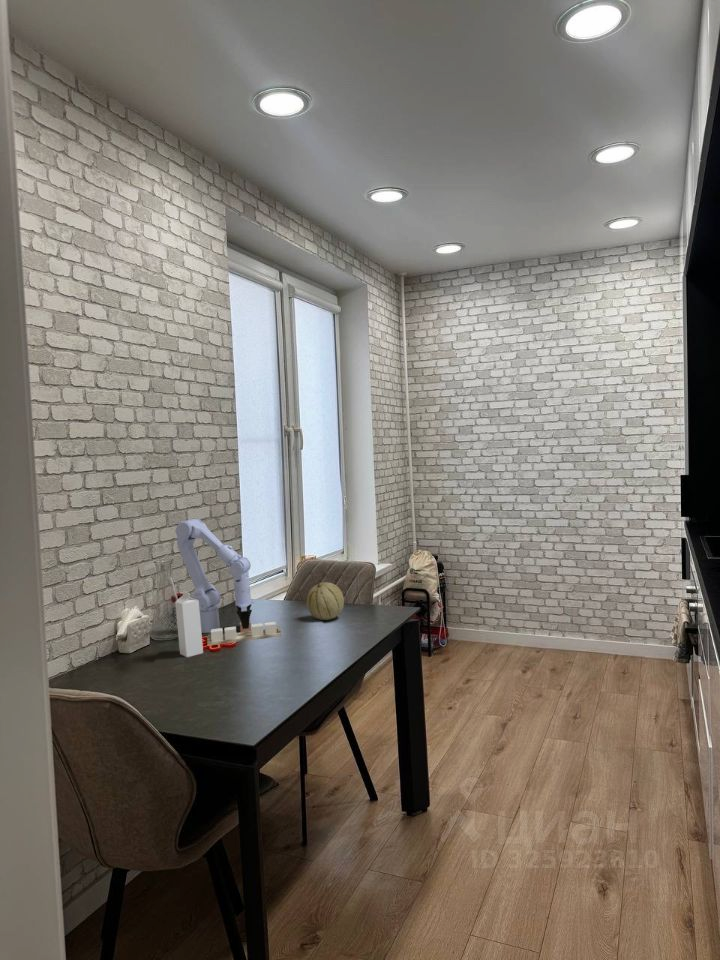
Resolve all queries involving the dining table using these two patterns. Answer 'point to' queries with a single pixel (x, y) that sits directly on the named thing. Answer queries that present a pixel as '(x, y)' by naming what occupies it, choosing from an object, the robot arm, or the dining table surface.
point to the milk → (189, 625)
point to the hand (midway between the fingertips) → (245, 626)
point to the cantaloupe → (325, 601)
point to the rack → (244, 637)
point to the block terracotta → (245, 629)
